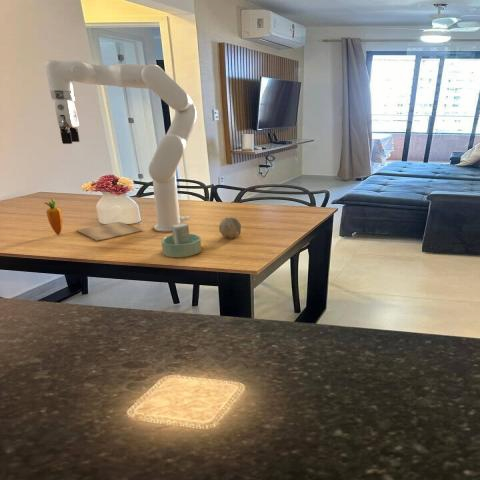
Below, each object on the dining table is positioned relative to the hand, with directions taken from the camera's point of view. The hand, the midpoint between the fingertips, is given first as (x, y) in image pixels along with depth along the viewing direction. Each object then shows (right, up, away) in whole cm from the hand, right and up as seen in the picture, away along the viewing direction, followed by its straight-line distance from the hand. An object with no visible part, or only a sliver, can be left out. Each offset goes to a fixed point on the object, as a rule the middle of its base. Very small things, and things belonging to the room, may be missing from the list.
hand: (71, 142), depth 150 cm
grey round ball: (+60, -37, +11) cm, 72 cm away
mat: (+7, -35, +14) cm, 38 cm away
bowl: (+46, -43, -7) cm, 63 cm away
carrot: (-11, -36, +9) cm, 39 cm away
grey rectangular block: (+46, -43, -7) cm, 63 cm away
